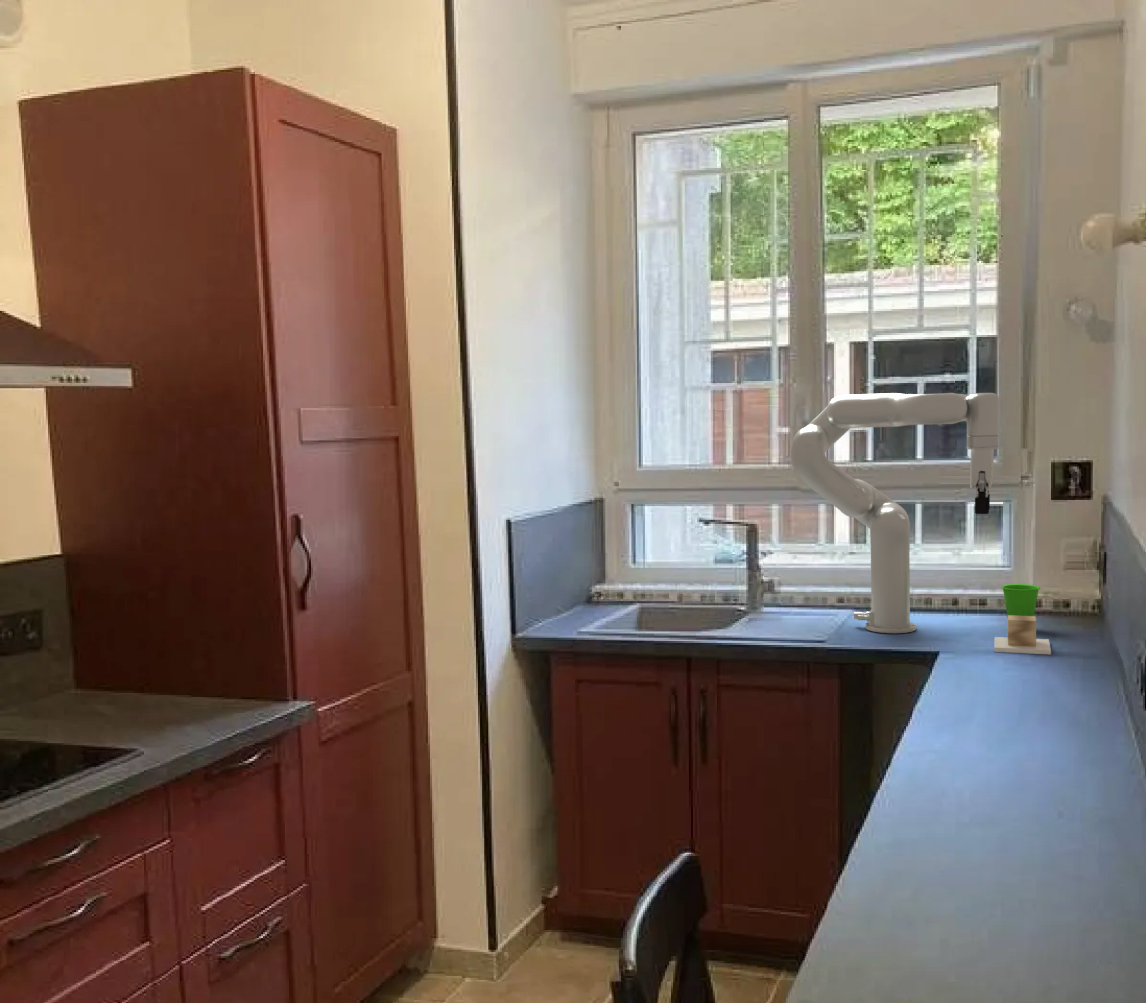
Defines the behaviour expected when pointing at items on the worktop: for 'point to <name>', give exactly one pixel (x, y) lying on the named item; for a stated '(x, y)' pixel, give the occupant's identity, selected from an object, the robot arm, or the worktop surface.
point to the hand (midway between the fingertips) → (982, 511)
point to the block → (1021, 630)
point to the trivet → (1022, 647)
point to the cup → (1020, 599)
